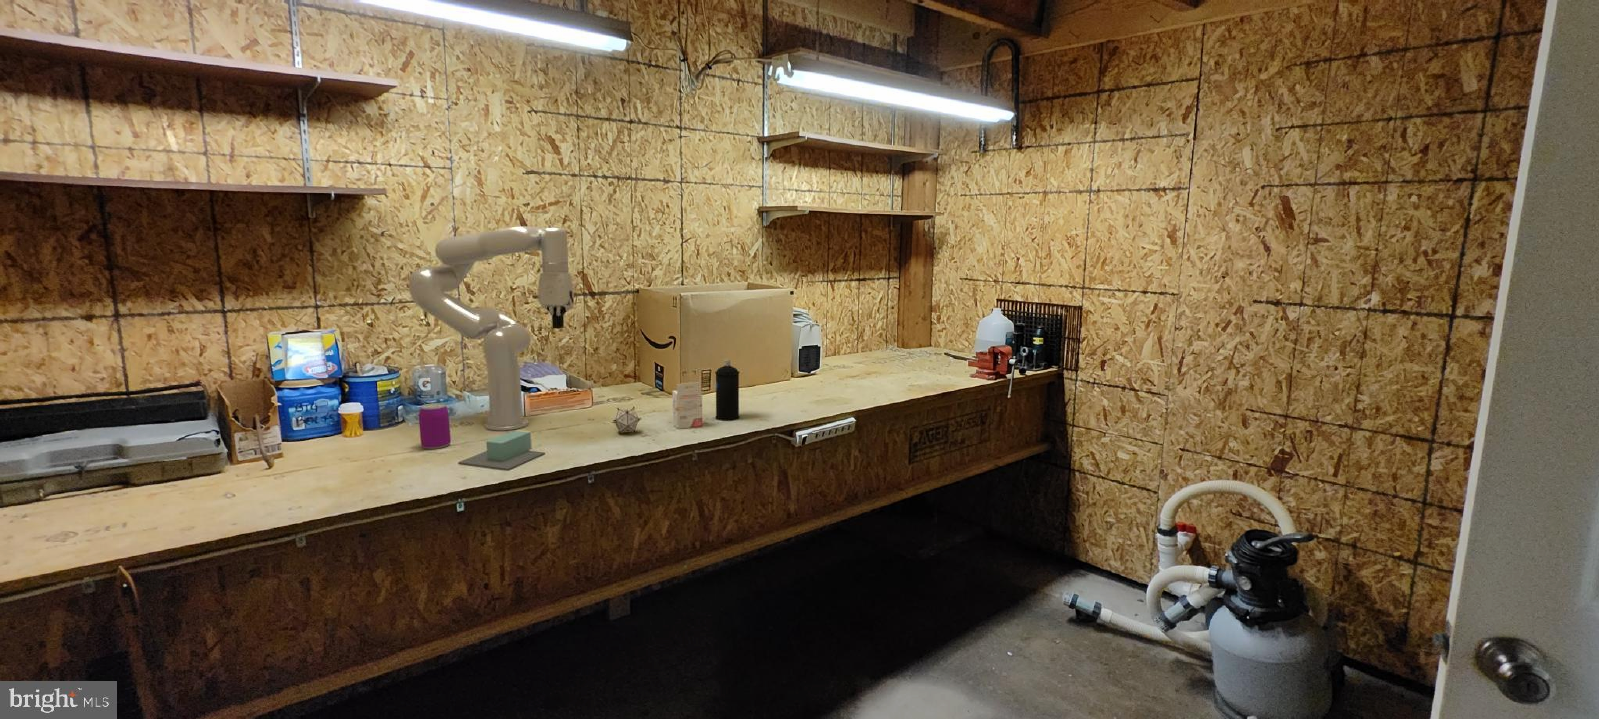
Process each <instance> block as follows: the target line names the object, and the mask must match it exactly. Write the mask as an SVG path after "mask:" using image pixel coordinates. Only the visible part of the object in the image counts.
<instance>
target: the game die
mask: <svg viewBox="0 0 1599 719" xmlns="http://www.w3.org/2000/svg"><path fill="white" fill-rule="evenodd" d="M616 409H617V413H616V415H615V416H616V417H615V419H613V420H612V424H615V426H616V427H617V429H618V431H619V432H618V435H621V433H631V432H633V433H634V434H637V431H636V429H637V425H638V423H639V422H640V420H642V417H639V416H638V414H637V413H636V411H635V406H633V407H632V408H625V409H623V408H622V409H620V408H619V407H617V408H616Z"/></svg>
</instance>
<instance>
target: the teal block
mask: <svg viewBox="0 0 1599 719" xmlns="http://www.w3.org/2000/svg"><path fill="white" fill-rule="evenodd" d="M532 442H533V441H532V431H527V430H518V429H515V430H513V431H510V432H508V433H506V434H502V435H500V436H497V437H495V438H492V439H489V440H487V441H486V442H485V443H486V451H487V459H489V460H497V461H505V460H507V459H509V458H512V457H514V456H516V455H519V454H521V453H523V452H526V451H528V450H529V451H531V450H532V449H533V445H532Z"/></svg>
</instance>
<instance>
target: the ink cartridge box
mask: <svg viewBox="0 0 1599 719" xmlns="http://www.w3.org/2000/svg"><path fill="white" fill-rule="evenodd" d="M686 387H690V388H686ZM691 387H692V388H691ZM672 417H673V419H672V420H673V427H675V428H676V429H678V430H680V429H681V430H682V429H689V428H696V427H703V423H704V422H703V392H702V383H701V381H697V382H685V383H684V382H683V383H678V384H676V390H672Z"/></svg>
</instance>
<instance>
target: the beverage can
mask: <svg viewBox="0 0 1599 719" xmlns="http://www.w3.org/2000/svg"><path fill="white" fill-rule="evenodd" d="M449 413H450V412H449V409H448V408H447V406H446V404H445V403H442V402H441V403H439V402H434V403H432V402H431V403H427V404H423V405H421V406H420V409H419V413H418V424H419V426H418V427H419V436H420V437H419V438H420V445H421V447H423V448H424V449H426V450H437V449H443V448H446V447H448V446H449V445H450V443H451V429H450V428H451V427H450V414H449Z"/></svg>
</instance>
